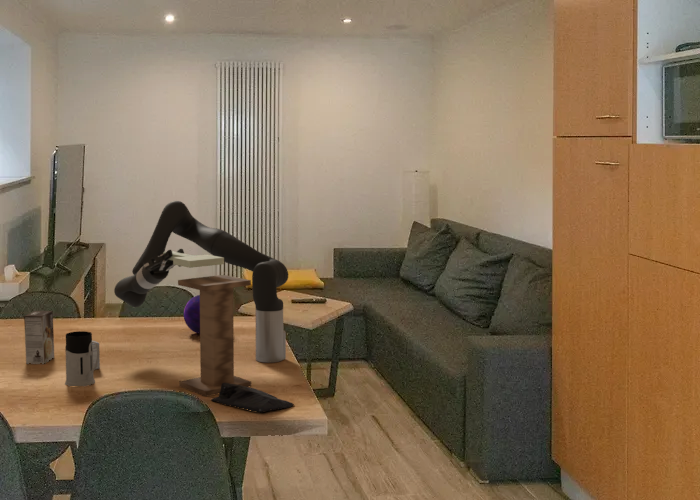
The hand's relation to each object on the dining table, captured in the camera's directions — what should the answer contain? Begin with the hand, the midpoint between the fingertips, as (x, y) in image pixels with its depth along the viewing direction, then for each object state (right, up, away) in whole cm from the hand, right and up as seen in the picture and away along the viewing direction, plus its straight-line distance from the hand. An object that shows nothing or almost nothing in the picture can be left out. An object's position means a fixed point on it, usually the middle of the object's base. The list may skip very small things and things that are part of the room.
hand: (176, 252), depth 272 cm
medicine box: (-30, -38, +8) cm, 49 cm away
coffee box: (-49, -36, +18) cm, 63 cm away
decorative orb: (-2, -31, +62) cm, 69 cm away
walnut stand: (+13, -40, -10) cm, 43 cm away
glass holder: (-25, -40, -9) cm, 48 cm away
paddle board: (+4, -3, -4) cm, 6 cm away
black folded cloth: (+26, -43, -26) cm, 57 cm away
